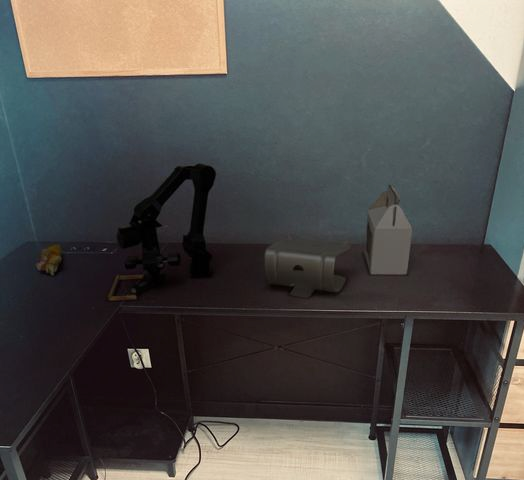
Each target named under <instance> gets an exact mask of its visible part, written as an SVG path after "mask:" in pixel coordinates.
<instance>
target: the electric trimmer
mask: <svg viewBox="0 0 524 480" xmlns="http://www.w3.org/2000/svg"><path fill="white" fill-rule="evenodd" d="M166 278H167V276H166V273H165V272H162V273H159V278H158V284H156V283H155V282H154V280H153V278H152V277H150V278H148V279H146V280H144V281H141V282H139V283H134V284H133V285H132V286H131V288H130V291H129V293H130V295H136V296H138V295H140V293H141V292H143V291H145V290H147V289H149V288H152V287H156V286H157V285H159V284H161V283H163V281H165V280H166Z"/></svg>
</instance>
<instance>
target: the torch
mask: <svg viewBox="0 0 524 480" xmlns="http://www.w3.org/2000/svg"><path fill="white" fill-rule="evenodd" d="M41 251H42V252H41V254H40V257H41V258H40V259H39V261H38V262H37V263H36V264H35V266H36V268H37V269H38V270H39V271H46V273H47V274H50V275H51V276H54V274H55V272H57V270H58V268H59V266H60V265H61V262H62V248H61V245H60V244H53V245H51V246H48V247H47V248H43V249H42V250H41Z"/></svg>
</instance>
